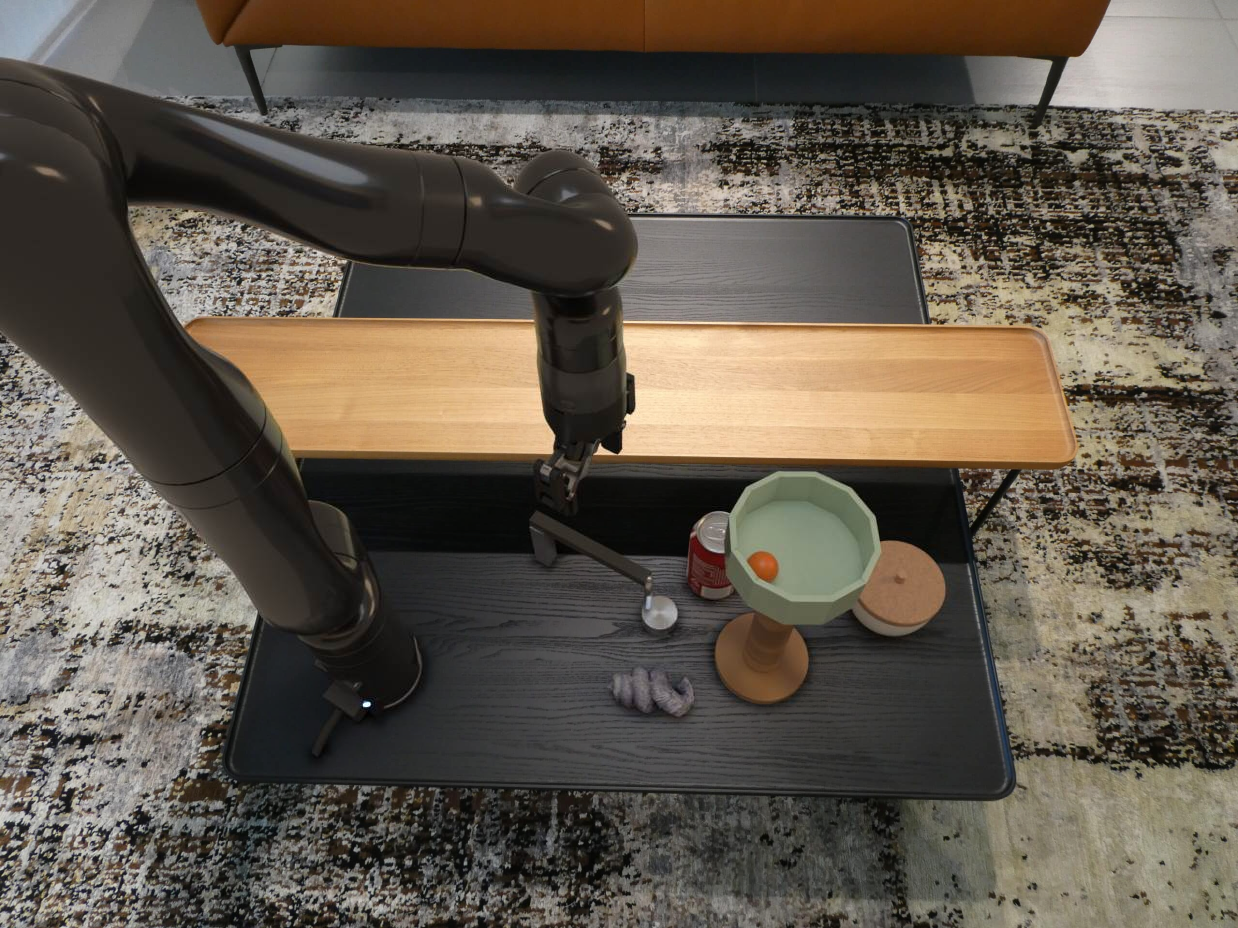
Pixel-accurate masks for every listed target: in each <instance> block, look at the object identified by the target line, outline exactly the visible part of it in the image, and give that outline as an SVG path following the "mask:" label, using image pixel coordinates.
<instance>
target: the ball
mask: <svg viewBox="0 0 1238 928" xmlns="http://www.w3.org/2000/svg"><path fill="white" fill-rule="evenodd" d="M747 563H748V564H749V566H750V567H751V568H752V570H753V571H754V573H755V574H756V575H757V577H758V578H760V579H762V580H764V581H765V582H767V583H770V582H772V581H773V580H774V579H775V578H776V577H777V575H778V572H779V565H778V562H777V560H776V558H775V557H774V556H773V555H772V554H770V553H768V552H765V551H759V552H755V553H753V554H752V555H751V556H750V557H749V558H748V559H747Z"/></svg>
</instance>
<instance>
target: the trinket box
mask: <svg viewBox="0 0 1238 928" xmlns="http://www.w3.org/2000/svg"><path fill="white" fill-rule="evenodd" d="M880 545H881V551H882V552H881V554H880V556H879V558H878V561H877V563H876V565H875V567H874V569H873V571H872V573H871V575H870V577H869V579H868V581H867V583H866V585H865V587H864V589H863V591H862V593H861V595H860V597H859V599H858V600H857V602H856V604H855V606H854V607H853V608H851V609H850V610H851V611H852V613H853V614H854V617H855V618H856V619H857V620H858V621H859V622H860V623H861V624H862V625H863V626H864V627H866V628H867V629H869V630H870V631H872V632H873V633H876V634H879V635H882V636H887V637H902V636H905V635H910V634H912V633H914V632H917V631H919V630H920V629H921V628H922V627H924V626H925V625H926V624H927V623H928V622H929V621H930V620H932V618H933V617H935V615H936V614H937V613H938V612H939V610H941V608H942V606H943V603H944V601H945V598H946V582H945V578H944V575H943V573H942V571H941V569H940V567H939V566H938V564H937V563H936V561H934V559H933V558H932V557H931V556H930V555H929V554H927V552H925V551H924V550H922V549H921V548H919V547H917V546H915V545H913V544H911V543H907V542H905V541H900V540H882V541H880Z"/></svg>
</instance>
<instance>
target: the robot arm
mask: <svg viewBox="0 0 1238 928" xmlns="http://www.w3.org/2000/svg"><path fill="white" fill-rule="evenodd" d="M130 207H156V208H171V209H180V210H187V211H194V212H199V213H205V214H209V215H213V216H218V217H221V218H225V219H229V220H232V221H235V222H240V223H243V224H246V225H248V226H251V227H254V228H257V229H260V230H263V231H265V232H268V233H271V234H273V235H276V236H278V237H281V238H284V239H286V240H288V241H291V242H295V243H297V244H299V245H302V246H305V247H307V248H309V249H312V250H315V251H318V252H320V253H322V254H326V255H328V256H332V257H334V258H339V259H341V260H345V261H349V262H353V263H358V264H361V265H368V266H374V267H382V268H383V267H384V268H395V269H413V270H416V269H417V270H433V271H435V270H436V271H464V272H469V273H473V274H476V275H479V276H482V277H484V278H487V279H489V280H493V281H495V282H499V283H503V284H507V285H509V286H513V287H516V288H520V289H523V290H526V291H529V292H530V297H531V302H532V309H533V314H532V315H533V324H534V331H535V340H536V347H537V349H536V369H537V370H536V371H537V376H538V384H539V392H540V399H541V406H542V413H543V416H544V420H545V422H546V424H547V425H548V427H549V428H550V430H551V432H552V433H553V435H554V441H553V444H552V450H553V451H552V454H551V455H550V456H549V458H548V459H547V460H544V459H542V458H540V457H539V458H537V459H536V460H535V462H534V464H533V466H532V471H533V481H534V482H533V483H534V491H535V500H536V502H539V503H541V504H543V505H545V506H547V507H549V508H551V509H552V510H554V511H556V512H558V513H560V514H563V515H564V516H566V517H569V516H570V517H574V516H576V514H577V512H578V511H579V505H578V496H577V494H578V493H577V489H578V486H579V483H580V481H582V480H583V479H585V478H586V477H587V476H588V472H589V470H590V466H591V463H592V460H593V457H594V454H596V453H597V452H598V450H599V446H601V447H602V449H604V450H606V451H607V452H610V453H612V454H614V455H620V453H621V452H622V450H623V431H624V430H625V428H626V427H627V422H628V421H627V420H626V419H625V418H626V416H627V415H630V416H632V415H633V413H635V411H636V406H637V405H636V403H637V402H636V400H637V399H636V378H635V375H634V374H633V373H630V372H627V353H626V347H625V342H624V306H623V299H622V295H621V292H620V288H619V286H618V285H619V284H620V283H621V282H622V281H624V280H625V279H626V278H627V277H628V275H629V274H630V273H631V271H632V270H633V268H634V266H635V263H636V262H637V257H638V254H639V253H638V252H639V242H638V241H639V240H638V235H637V232H636V229H635V226H634V225H633V222H632V220H631V218H630V216H629V215H628V213H627V212H626V211H625V209H624V208H623V206H622V205H621V203H620V202H619V200H618V198H617V197H616V196H615V194H614V192H613V191H612V190H611V188H610V187H609V185H608V183H607V181H606V180H605V179H604V177H603V176H602V174H601V173H600V171H599V170H598V168H597V167H596V166H595V165H594V164H593V163H591V162H590V161H589V160H588V159H587V158H585V156H582V155H580V154H579V153H577V152H574V151H571V150H567V149H552V150H547V151H544V152H541V153H539V154H537V155H535V156H534V157H532V158H531V159H530V160H529V161H528V162H527V163H526V164H524V165H523V167H522V168H521V169H520V171H519V173H518V175H517V176H516V178H515V179H514V182H513V185H512V187H511V186H510V185H508V183H506V182H505V181H504V180H503V179H501V177H500V176H499V175H498V174H497V173H496V172H495V171H494V170H492V168H490V167H489V166H487V164H485V163H483V162H481V161H478V160H475V159H473V158H467V157H463V156H457V155H448V154H442V153H434V152H425V151H419V150H418V151H417V150H409V149H403V148H402V149H401V148H392V147H384V146H375V145H369V144H361V143H353V142H347V141H341V140H336V139H330V138H325V137H319V136H316V135H311V134H305V133H301V132H296V131H292V130H287V129H282V128H277V127H273V126H269V125H265V124H262V123H257V122H254V121H253V122H252V121H248V120H245V119H240V118H236V117H233V116H229V115H225V114H221V113H217V112H213V111H210V110H206V109H203V108H199V107H194V106H192V105H187V104H183V103H179V102H176V101H172V100H168V99H164V98H160V97H158V96H157V97H156V96H153V95H150V94H145V93H143V92H138V91H136V90H132V89H128V88H126V87H121V86H118V85H115V84H111V83H107V82H104V81H100V80H98V79H94V78H91V77H87V76H83V75H80V74H77V73H73V72H70V71H66V70H62V69H58V68H55V67H51V66H46V65H43V64H38V63H34V62H29V61H25V60H20V59H15V58H10V57H3V56H0V333H1V335H2V336H4V337H5V338H6V339H7V340H8V341H10V342H11V343H12V344H13V345H14V346H16V347H17V348H18V349H19V350H20V351H22V352H23V354H25V355H26V356H27V357H29V358H30V359H31V360H32V361H33V362H35V363H36V364H37V365H38V366H39V367H41V369H43V370H44V371H45V372H46V373H47V374H49V376H51V377H52V378H53V379H54V380H55V381H56V382H57V383H58V384H59V385H60V386H61V387H62V388H63V389H64V391H66V393H67V394H68V395H69V396H70V397H71V398H72V399H73V401H74V402H75V403H76V405H78V406H79V408H80V409H81V410H82V411H83V413H85V415H87V416H88V418H89V419H90V420H91V421H92V423H94V424H95V425H96V427H97V428H99V429H100V431H101V432H102V433H103V434H104V435H105V436H106V437H107V438H108V439H109V440H110V441H111V442H112V444H113V445H114V446H115V447H116V448H117V449H118V450H119V452H120V453H121V454H122V455H123V457H124V458H125V459H126V460H127V461H128V463H129V464H130V466H132V467H133V468H134V470H135V471H136V472H137V473H138V474H139V475H140V476H141V477H142V478H143V480H145V481H146V482H147V484H148V485H149V486H150V487H151V488H152V489H153V490H154V491H155V492H156V493H157V494H158V495H159V496H160V498H162V499H163V500H164V501H165V502H166V503H167V504H168V505H169V506H170V507H171V508H173V509H174V511H176V512H177V514H178V515H179V516H180V517H181V518H182V519H183V520H184V521H185V522H186V524H187V525H188V526H189V527H190V528H191V529H192V531H194V533H196V535H197V536H198V537H199V538H200V539H201V540H202V541H203V542H204V543H205V545H207V546H208V547H209V548H210V550H212V552H213V553H214V554H215V555H216V556H218V558H220V560H221V561H222V562H223V563H224V564H225V565H226V567H228V569H229V570H230V571H231V572H232V574H233V575H234V576H235V578H236V579H237V581H238V582H239V583H240V585H241V587H242V589H243V590H244V591H245V593H246V595H247V596H248V598H249V599H250V601H251V603H252V604H253V607H254V608H255V610H256V611H257V613H258V614H259V615H260V617H261V618H262V620H263V621H265V623H266V624H268V625H269V626H270V627H273V628H274V629H276V630H278V631H280V632H282V633H284V634H289V635H294V636H297V638H298V639H299V641H301V643H302V644H303V645H304V646H305V647H306V648H307V650H309V651H310V653H311V654H312V655H313V656H314V657H315V658H316V660H315V662H314V666H315V667H316V668H317V669H318V670H319V671H320V672H321V674H322V675H323V676H324V677H325V678H326V679H327V680H328V681H329V682H330V683H331V685H330V686H329V687H328V689H327V690H326V691H325V693H323V695H322V697H323V698H324V700H325V701H326V702H327V703H328V704H330V705H331V706H332V707H334V708H335V710H334V711H333V713H332V714H331V716H330V717H329V719H328V720H327V722H326V723H325V724H324V726H323V728H322V730H321V731H320V733H319V734H318V737H317V738H316V741H315V743H314V746H313V748H312V750H311V752H310V753H312V754H313V755H314V756H315V757H317V758H319V757H320V755H321V753H322V751H323V748H324V746H325V744H326V742H327V740H328V738H329V736H330V735H331V733H332V731H333V730H334V728H335V727H336V725H337V724H338V722H339V721H340V719H341V718H342V716H343V715H344V714H345V715H346V716H347V717H349V718H351V719H352V720H353V721H354V722H355V721H356V722H357V723H360V722H361V721H362V719H363V718H364V717H365V716H366V714H367V713H370V714H371V715H373V716H374V717H376V718H380V717H381V716H382V715H383V714H384V712H385V711H388V710H391V709H393V708H396V707H398V706H400V705H402V704H403V703H404V702H406V701H407V700H408V699H409V698H410V697H411V696H412V695H413V694H414V693H415V691H416V690H417V688H418V687H419V686H420V683H421V680H422V677H423V672H424V662H423V657H422V654H421V652H420V650H419V648H418V643H417V639H416V637H415V636H413V639H412V638H411V637H410V634H409V633H408V631H407V630H406V628H405V626H404V624H403V623H402V620H401V619H400V617H399V616H398V614H397V612H396V611H395V609H394V607H393V604H391V602H390V599H388V597H387V595H386V593H385V592H384V590H383V588H382V586H381V582H380V580H379V578H378V575H377V571H376V569H375V566H374V563H373V561H372V559H371V556H370V555H369V553H368V551H367V549H366V547H365V545H364V542H363V541H362V539H361V537H360V535H359V533H358V532H357V529H356V528H355V526H354V524H353V523H352V521H351V520H350V518H349V516H347V515H346V514H345V513H344V512H343V511H342V510H340V509H339V508H337V507H336V506H333V505H331V504H328V503H326V502H322V501H317V500H311V499H310V500H309V498H308V495H307V492H306V489H305V485H304V483H303V480H302V477H301V474H300V471H299V468H298V466H297V463H296V460H295V458H294V456H293V453H292V450H291V448H290V446H289V443H288V440H287V438H286V435H285V434H284V432H283V429H282V428H281V426H280V424H279V423H278V421H277V419H276V418H275V416H274V415H273V413H272V412H271V410H270V409H269V407H268V405H267V404H266V402H265V401H264V399H263V397H262V395H261V394H260V392H259V390H258V389H257V388H256V386H255V385H254V383H252V381H251V380H250V379H249V378H248V377H247V375H246V374H245V373H244V372H243V370H241V368H240V367H239V366H238V365H236V364H235V363H234V362H232V361H231V360H230V359H228V358H226V357H225V356H224V355H222V354H220V353H219V352H217V351H215V350H214V349H211V348H210V347H208V346H205V345H204V344H202V343H200V342H198V341H197V340H196V339H195V338H194V337H193V336H192V335H190V334H189V331H188V330H186V328H184V326H183V325H182V323H181V322H180V320H179V319H178V317H177V315H176V314H175V313H174V311H173V309H172V307H171V305H170V304H169V301H168V300H167V298H166V296H165V295H164V293H163V292H162V290H161V288H160V286H159V284H158V282H157V281H156V279H155V277H154V275H153V273H152V271H151V268H150V266H149V265H148V262H147V260H146V257H145V256H144V253H143V251H142V250H141V247H140V245H139V242H138V239H137V236H136V233H135V230H134V227H133V222H132V218H131V214H130V209H129V208H130ZM565 460H566V461H565ZM567 461H569V462H579V466H578V467H576V466H574V465H573V464H570V463H568V462H567ZM566 477H567V478H568V479H569V482H568V484H565V478H566ZM413 640H414V641H413Z"/></svg>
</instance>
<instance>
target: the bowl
mask: <svg viewBox="0 0 1238 928" xmlns="http://www.w3.org/2000/svg"><path fill="white" fill-rule="evenodd" d="M880 542H881V540H880V535H879V528H878V523H877V518H876V515H875V514H874V513H873V512H872V511H871V509H870V508H869V507H868V506H867V504H866V503H865V502H864V501H863V500H862V499H861V497H859V495H858V493H856V491H855V490H854V489H853V488H852V487H850V486H848V485H846V484H843V483H842V482H839V481H837V480H835V479H833V478H831V477H828V476H826V475H824V474H822V473H820V472H817V471H793V470H792V471H785V470H784V471H781V470H780V471H778V470H777V471H776V472H774V473H771V474H770V475H768V476H765V477H764V478H762V479H760V480H758V481H755V482H754V483H752V484H750V485H748V486H746V487H745V488H744V490H743V491H742V493H741V495H740V496H739V498H738V500H737V502H736V503H735V505H734V507H733V508H732V510H731V512H730V515H729V518H728V523H727V528H726V534H725V539H724V551H725V568H726V576H727V577H728V579H729V580H730V582H731V583H732V585H733V586H734V587H735V589H736V590H735V591H736V592H737V593H738V595H739V596H740V598H741V599H742V600H743V603H744V604H745V605H746V606H747V607H748V608H750V609H753V610H754V611H755V610H756V611H758V612H760V613H762V614H764V615H766V616H768V617H770V618H772V619H773V620H775V621H777V622H779V623H781V624H788V625H794V626H795V625H798V626H799V625H800V626H801V625H803V626H804V625H805V626H807V625H808V626H822V625H823V626H824V625H825V624H826V623H829V622H831V621H832V620H834V619H835V618H837V617H839V616H841V615H843V614H844V613H846V612H849V610H852V609H851V608H853V607H854V606H855V604H856V602H857V600H858V599H859V597H860V595H861V593H862V591H863V589H864V587H865V585H866V583H867V581H868V579H869V577H870V575H871V573H872V571H873V569H874V567H875V565H876V563H877V561H878V558H879V556H880V554H881V552H882V551H881V545H880ZM759 551H765V552H768V553H770V554H772V555H773V556H774V557H775V558H776V560H777V562H778V565H779V572H778V575H777V577H776V578H775V579H774V580H773V581H772V582H770V583H767V582H765V581H764V580H762V579H760V578H758V577H757V575H756V574H755V573H754V571H753V570H752V568H751V567H750V566H749V564H748V563H747V559H748V558H749V557H750V556H751V555H752V554H753V553H755V552H759Z"/></svg>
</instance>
